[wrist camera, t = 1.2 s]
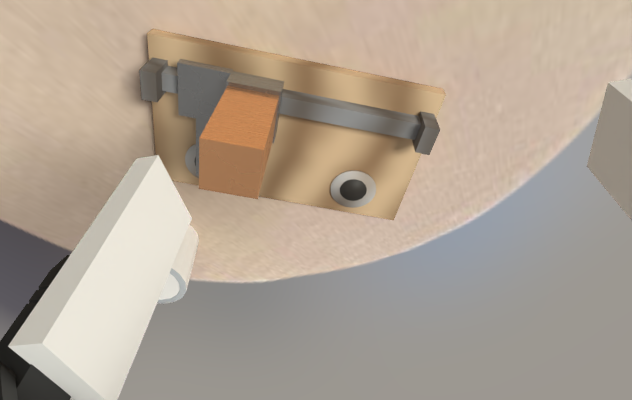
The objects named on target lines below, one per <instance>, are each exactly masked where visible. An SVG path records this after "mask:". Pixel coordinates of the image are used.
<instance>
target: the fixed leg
mask: <svg viewBox="0 0 632 400" xmlns="http://www.w3.org/2000/svg"><path fill="white" fill-rule="evenodd" d="M232 71H233V69H229V68H224V67H219V66H214V65H210V64H205V63H200V62H195V61H190V60H185V59H180V60H179V61H178V62H177V75H178V112H179V115H180V116H186V117H191V118H196V175H197V176H199V138H200V136H201V134H202V132H203V130H204V128H205V127H206V125H207V123H208V121H209V119H210V117H211V115H212V114H213V112H214V110H215V108H216V106H217V104H218V102H219V101H220V99H221V97H222V95H223V93H224V91H225V89H226V81H227V79H228V78H229V76H230V74H231V72H232Z"/></svg>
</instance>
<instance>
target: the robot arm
mask: <svg viewBox="0 0 632 400" xmlns="http://www.w3.org/2000/svg"><path fill="white" fill-rule="evenodd" d="M587 167H588V168H589V169H590V171H591V172H592V173H593V174H594V176H595V177H596V178H597V179H598V180H599V181H600V182H601V184H602V185H603V186H604V188H605V189H606V190H607V191H608V192H609V194H610V195H611V196H612V197H613V198H614V200H615V201H616V202H617V203H618V205H619V206H620V207H621V208H622V209H623V210H624V212H625V213H626V214H627V215H628V217H629V218H630V219H631V220H632V79H626V80H620V81H614V82H608V85H607V89H606V93H605V97H604V101H603V104H602V108H601V112H600V116H599V120H598V124H597V128H596V132H595V136H594V140H593V144H592V148H591V152H590V156H589V160H588V164H587ZM191 219H192V218H191V216H190V214H189V212H188V210H187V208H186V206H185V204H184V202H183V201H182V199H181V197H180V195H179V193H178V191H177V189H176V187H175V185H174V184H173V182H172V180H171V178H170V176H169V174H168V172H167V170H166V168H165V167H164V165H163V163H162V161H161V159H160V157H159V155H155V156H149V157H142V158H136V160H135V161H134V163H133V164H132V166H131V167H130V169H129V170H128V172H127V173H126V175H125V176H124V177H123V179H122V180H121V182H120V183H119V185H118V186H117V188H116V189H115V191H114V192H113V194H112V195H111V196H110V198H109V199H108V201H107V202H106V204H105V205H104V207H103V208H102V210H101V211H100V213H99V214H98V215H97V217H96V218H95V220H94V221H93V223H92V224H91V226H90V227H89V229H88V230H87V232H86V233H85V234H84V236H83V237H82V239H81V240H80V242H79V243H78V245H77V246H76V248H75V249H74V250H73V252H72V253H71V255H67V256H66V257H65V258H64V259H63V260H61V261H60V262H59V263H58V264H57V265H56V266H55V267H54V268H53V269H52V270H50V272H49V273H48V275H47V276H46V277H45V279H44V280H43V282H42V283H41V285H40V286H39V290H36V292H35V293H34V294H33V296H32V297H31V299H30V300H29V302H30V303H29V304H26V306H25V307H24V309H23V310H22V311H21V313H20V314H19V316H18V317H17V318H16V320H15V321H14V323H13V324H12V326H11V327H10V329H9V330H8V331H7V333H6V334H5V336H4V337H3V338H2V340H1V341H0V400H70V398H72V399H73V400H117V399H118V397H119V394H120V392H121V389H122V387H123V385H124V382H125V379H126V377H127V375H128V372H129V370H130V367H131V365H132V363H133V360H134V358H135V355H136V353H137V351H138V348H139V345H140V343H141V341H142V338H143V336H144V334H145V331H146V329H147V326H148V324H149V321H150V319H151V317H152V314H153V312H154V309H155V307H156V304H157V302H158V300H159V297H160V295H161V292H162V290H163V287H164V285H165V283H166V280H167V278H168V275H169V273H170V270H171V268H172V266H173V263H174V261H175V258H176V256H177V253H178V251H179V249H180V246H181V244H182V241H183V239H184V236H185V234H186V232H187V229H188V227H189V224H190V222H191Z"/></svg>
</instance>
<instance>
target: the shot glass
mask: <svg viewBox="0 0 632 400" xmlns="http://www.w3.org/2000/svg"><path fill="white" fill-rule="evenodd" d="M198 243H199V238H198V234H197V232H196V231H195V229H194V228H193V227H192V226H191V225H189V227H188V229H187V232H186V234H185V236H184V239H183V241H182V244H181V246H180V249H179V251H178V253H177V256H176V258H175V261H174V263H173V266H172V268H171V270H170V273H169V275H168V278H167V280H166V283H165V285H164V287H163V290H162V292H161V295H160V297H159V300H158V302H157V303H162V304H163V303H171V302H175V301H177V300H179V299H181V298H182V297H183V295H184V294H185V292H186V290H187V286H188V283H189V279H190V275H191V271H192V267H193V263H194V259H195V255H196V251H197V247H198Z"/></svg>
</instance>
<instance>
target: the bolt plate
mask: <svg viewBox="0 0 632 400" xmlns="http://www.w3.org/2000/svg"><path fill="white" fill-rule="evenodd" d="M147 40H148V54H149V61H148V62H147V63H146V64H145V65H144V66H143V67H142V68H141V69H140V70H139V72H140V84H141V95H142V100H147V101H152V110H153V125H154V139H155V153H156V155H159V157H160V159H161V161H162V163H163V165H164V167H165V168H166V170H167V172H168V174H169V176H170V178H171V180H172V181H177V182H182V183H188V184H194V185H199V176H197V175H196V118H191V117H186V116H180V115H179V112H178V75H177V62H178V61H179V60H180V59H185V60H190V61H195V62H200V63H205V64H210V65H214V66H219V67H224V68H229V69H233V71H236V72H241V73H246V74H251V75H256V76H261V77H266V78H271V79H276V80H281V81H284V87H283V94H282V100H281V107H280V114H279V121H278V128H277V133H276V137H275V141H274V143H272V146H271V150H270V154H269V158H268V161H267V165H266V169H265V173H264V177H263V181H262V184H261V188H260V192H259V196H261V197H266V198H272V199H277V200H283V201H289V202H294V203H300V204H305V205H311V206H317V207H322V208H328V209H333V210H339V211H345V212H350V213H356V214H361V215H367V216H372V217H378V218H384V219H389V220H394V218H395V215H396V213H397V211H398V208H399V206H400V203H401V201H402V199H403V196H404V194H405V192H406V189H407V187H408V184H409V182H410V180H411V177H412V175H413V172H414V170H415V168H416V165H417V163H418V160H419V158H420V156H421V153H422V154H427V155H429V154H430V152H431V150H432V147H433V145H434V143H435V140H436V138H437V136H438V134H439V131H440V128H439V125H438V123H437V120H436V117H437V115H438V113H439V110H440V108H441V105H442V103H443V101H444V98H445V96H446V94H445V92H444V90H443V89H441V88H436V87H432V86H427V85H422V84H417V83H412V82H407V81H403V80H398V79H393V78H388V77H383V76H378V75H374V74H369V73H364V72H359V71H354V70H349V69H344V68H340V67H335V66H330V65H325V64H320V63H315V62H311V61H306V60H301V59H296V58H291V57H286V56H282V55H277V54H272V53H267V52H262V51H257V50H253V49H248V48H243V47H238V46H233V45H228V44H223V43H219V42H214V41H209V40H204V39H199V38H194V37H190V36H185V35H180V34H175V33H170V32H165V31H161V30H156V29H152V30H151V31H150V32H148V33H147Z"/></svg>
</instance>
